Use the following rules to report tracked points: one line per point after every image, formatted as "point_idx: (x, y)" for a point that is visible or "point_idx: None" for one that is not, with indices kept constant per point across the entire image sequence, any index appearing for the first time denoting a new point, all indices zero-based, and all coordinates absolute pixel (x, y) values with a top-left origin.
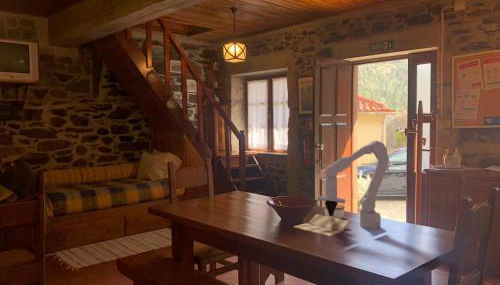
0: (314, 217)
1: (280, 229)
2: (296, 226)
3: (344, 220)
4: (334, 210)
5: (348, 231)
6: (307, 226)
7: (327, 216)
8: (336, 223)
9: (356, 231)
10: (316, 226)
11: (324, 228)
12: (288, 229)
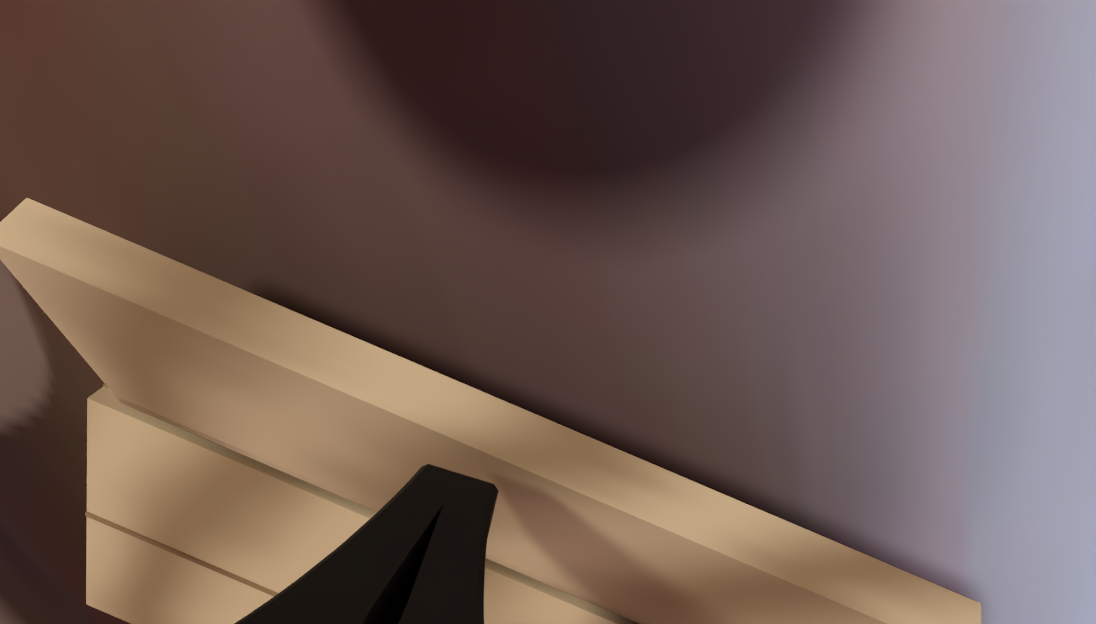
0: (68, 320)
1: (17, 609)
2: (107, 585)
3: (848, 614)
4: (483, 611)
5: (900, 517)
6: (220, 558)
7: (337, 390)
8: (657, 583)
9: (1077, 485)
10: (329, 531)
11: (485, 601)
12: (79, 594)
